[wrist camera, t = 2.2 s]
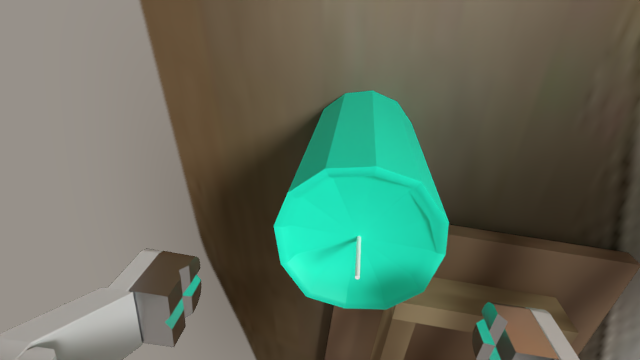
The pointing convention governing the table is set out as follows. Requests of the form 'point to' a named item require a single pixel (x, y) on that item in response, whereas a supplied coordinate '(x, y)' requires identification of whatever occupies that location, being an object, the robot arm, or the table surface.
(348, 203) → the candle
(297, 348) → the table surface
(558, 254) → the candle holder
